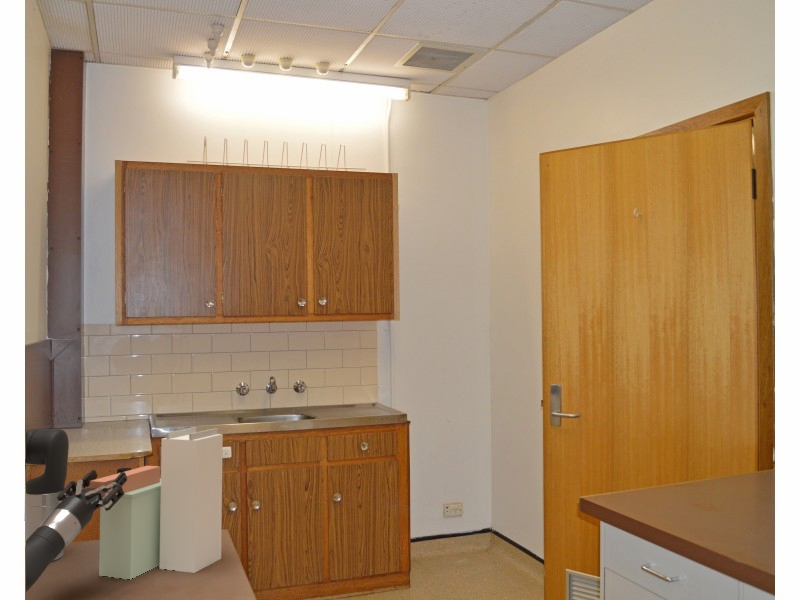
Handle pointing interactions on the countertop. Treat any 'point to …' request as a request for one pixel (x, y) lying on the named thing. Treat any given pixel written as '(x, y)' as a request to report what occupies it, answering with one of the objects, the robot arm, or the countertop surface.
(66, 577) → the countertop surface
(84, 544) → the countertop surface
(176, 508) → the stand
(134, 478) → the long salmon orange block
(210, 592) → the countertop surface
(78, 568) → the countertop surface
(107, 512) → the pale mint green block
